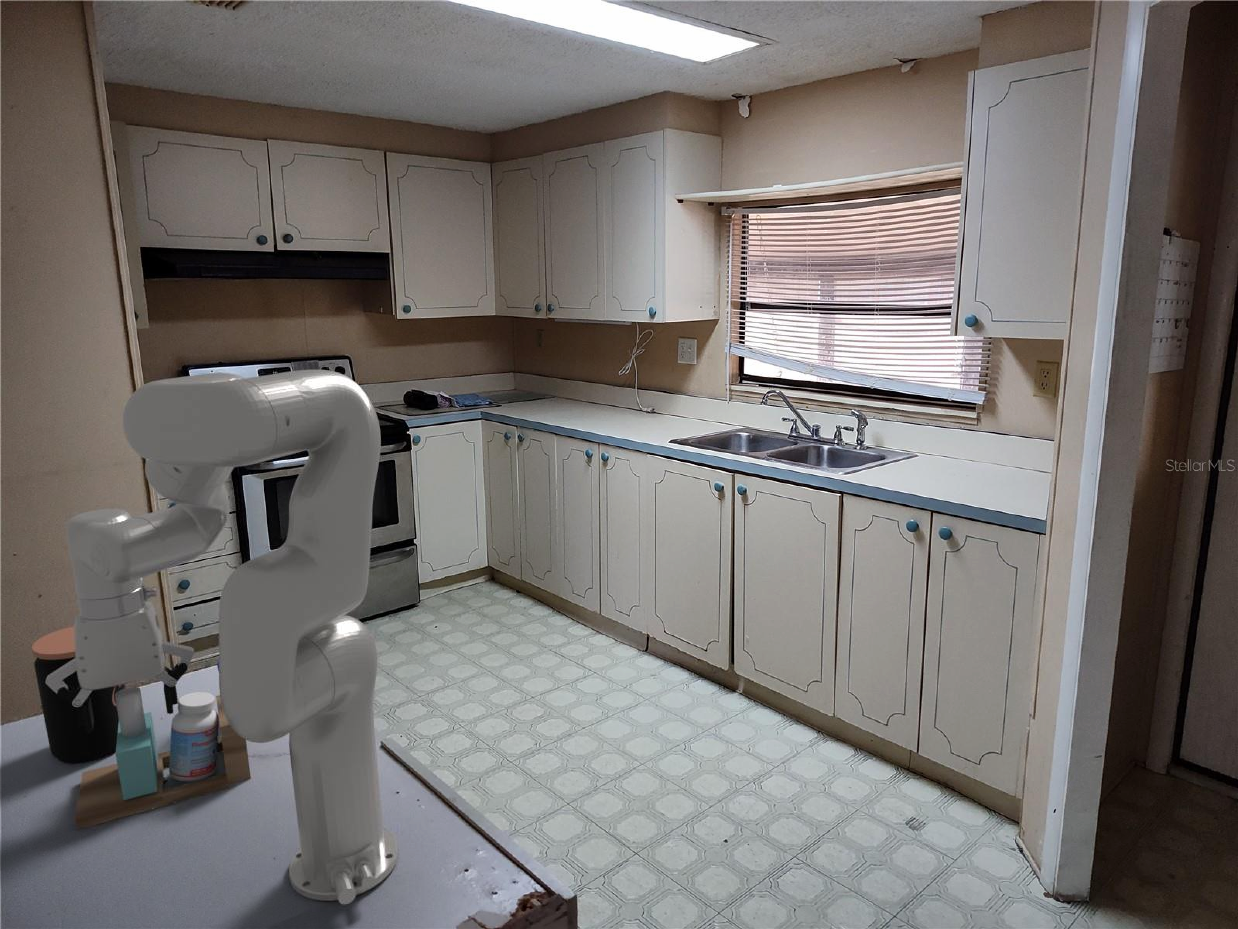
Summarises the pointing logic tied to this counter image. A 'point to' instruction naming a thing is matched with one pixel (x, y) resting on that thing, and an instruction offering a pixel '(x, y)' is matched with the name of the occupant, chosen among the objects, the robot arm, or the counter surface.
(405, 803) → the counter surface
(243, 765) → the wooden tray
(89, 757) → the coffee jar
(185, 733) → the pill bottle
